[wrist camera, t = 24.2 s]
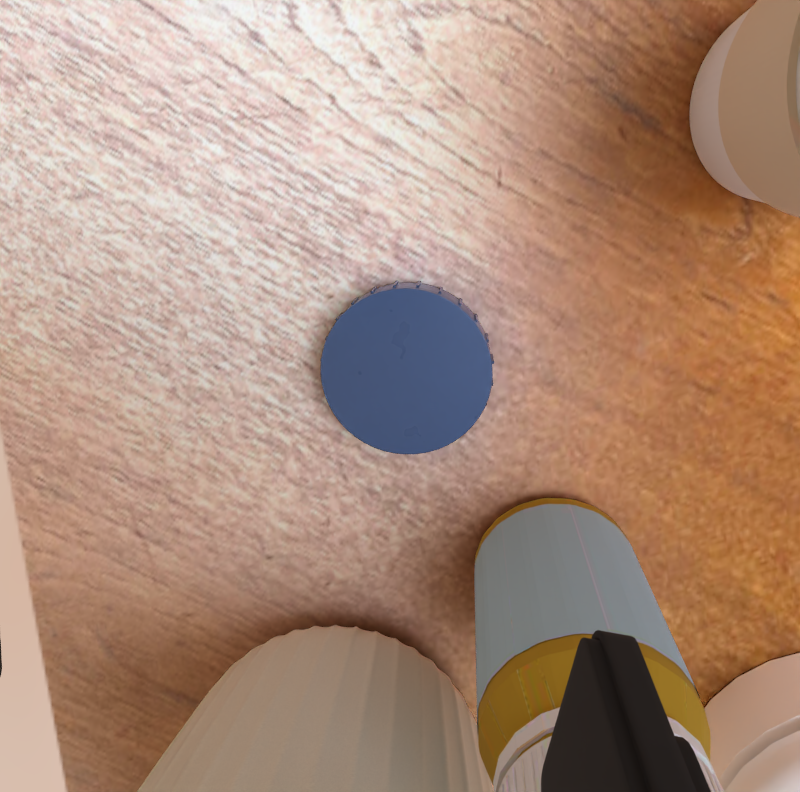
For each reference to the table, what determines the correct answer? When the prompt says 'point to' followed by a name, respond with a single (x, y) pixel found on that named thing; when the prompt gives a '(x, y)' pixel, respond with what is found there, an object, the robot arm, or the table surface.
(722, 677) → the table surface
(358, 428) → the lid
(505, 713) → the bottle
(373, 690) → the canister
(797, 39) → the coffee cup
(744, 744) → the honey pot
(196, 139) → the table surface
